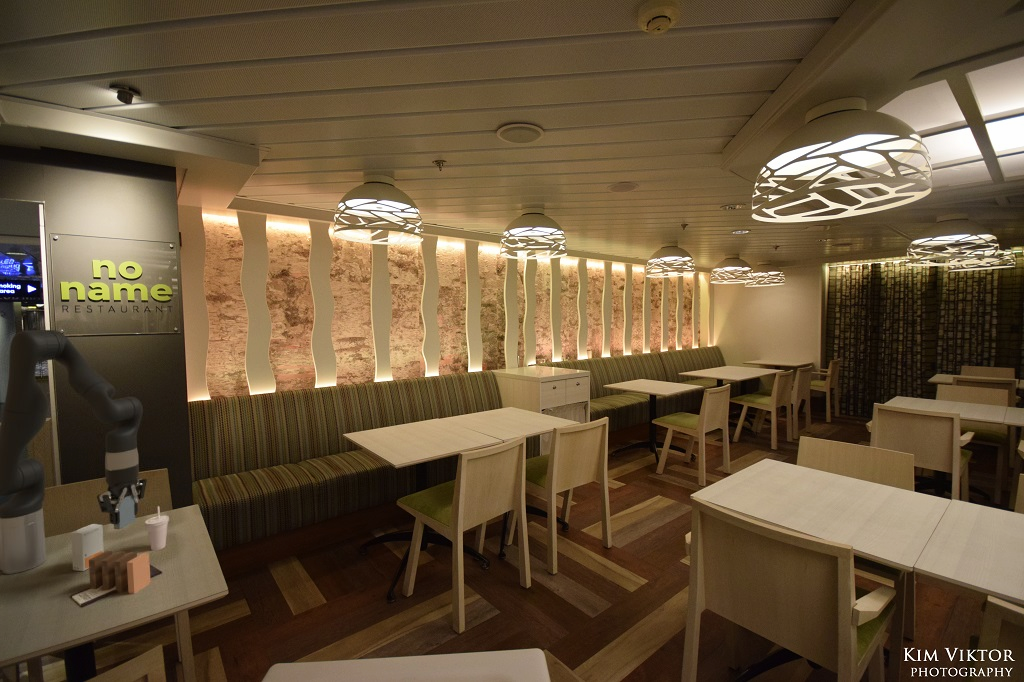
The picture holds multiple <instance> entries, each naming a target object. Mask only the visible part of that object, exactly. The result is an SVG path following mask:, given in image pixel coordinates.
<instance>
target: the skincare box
mask: <svg viewBox="0 0 1024 682" xmlns="http://www.w3.org/2000/svg"><path fill="white" fill-rule="evenodd" d="M103 528H104V527H103V524H97V523H92V524H88V525H87V526H84V527H83V526H82V527H81V528H79V529H77V530H74V531H71V532H70V534H71V539H70V540H71V556H72V557H71V560H72V571H79V572H84V571H86V570H89V560H90V559H92V558H93V557H95V556H97V555H99V554H101V553H103V552H105V550H104V534H103V533H104V531H103Z"/></svg>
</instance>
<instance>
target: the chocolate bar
mask: <svg viewBox="0 0 1024 682" xmlns="http://www.w3.org/2000/svg"><path fill="white" fill-rule="evenodd" d="M162 574H163V572H162V570H160V569H158V568H156V567H155V566H153V565H152V564H150V579H153V578H154V577H157V576H160V575H162ZM117 593H119V592H118V591H117V590H116V586H115V587H113V588H111V589H110V590H103V585H102V586H101V587H99V588H97V589H90V586H89V587H87V588H84V589H82V590H79V591H77V592H75V593H72V594H70V595H69V597H70V598H72V600H73V601H75V602H76V603H77V604H79V606H81V607H82V608H85V607H88V606H89V605H92V604H94V603H96V602H98V601H101V600H104V599H105V598H107V597H111V596H113V595H115V594H117Z"/></svg>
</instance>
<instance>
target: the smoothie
mask: <svg viewBox="0 0 1024 682" xmlns="http://www.w3.org/2000/svg"><path fill="white" fill-rule="evenodd" d="M156 508H157V515H156V516H154V517H151V518H148V519H146V520H145V521H144V526H145V527H146V531H147V535H148V539H149V545H150V548H151V551H158V550H162V549H163V548H165V547H166V545H167V543H166V542H167V533H168V525H169V524H168V523H169V521H170V518H169V516H168V515H160V513H161V512H160V510H161V509H160V506H159V505H157V507H156Z"/></svg>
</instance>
